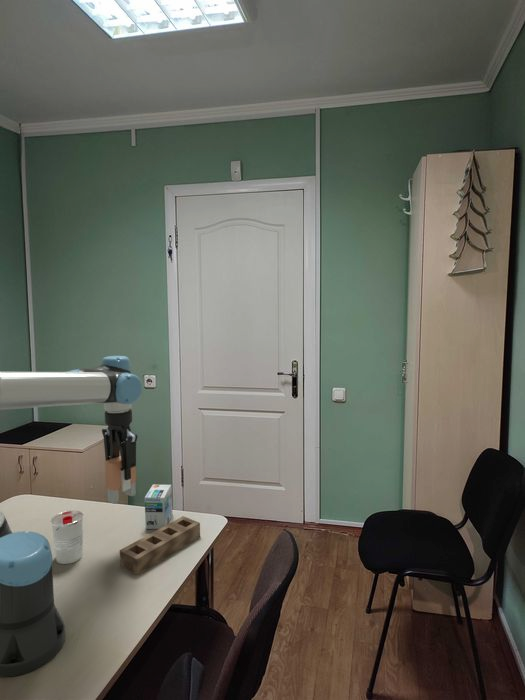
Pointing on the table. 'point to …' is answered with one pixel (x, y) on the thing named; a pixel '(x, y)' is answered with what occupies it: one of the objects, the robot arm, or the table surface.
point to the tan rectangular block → (117, 479)
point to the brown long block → (159, 545)
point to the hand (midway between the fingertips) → (121, 487)
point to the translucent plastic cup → (68, 536)
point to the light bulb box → (158, 506)
